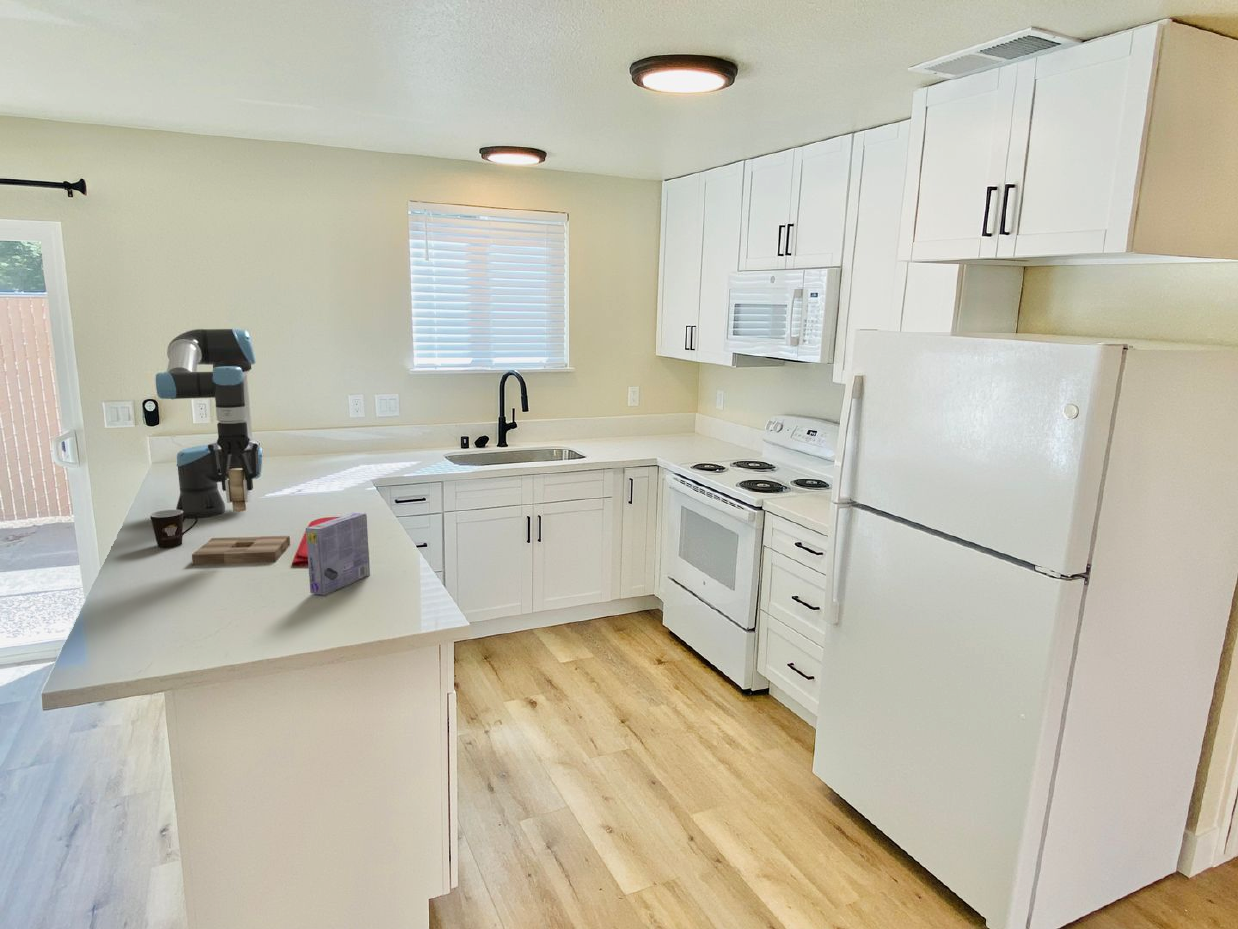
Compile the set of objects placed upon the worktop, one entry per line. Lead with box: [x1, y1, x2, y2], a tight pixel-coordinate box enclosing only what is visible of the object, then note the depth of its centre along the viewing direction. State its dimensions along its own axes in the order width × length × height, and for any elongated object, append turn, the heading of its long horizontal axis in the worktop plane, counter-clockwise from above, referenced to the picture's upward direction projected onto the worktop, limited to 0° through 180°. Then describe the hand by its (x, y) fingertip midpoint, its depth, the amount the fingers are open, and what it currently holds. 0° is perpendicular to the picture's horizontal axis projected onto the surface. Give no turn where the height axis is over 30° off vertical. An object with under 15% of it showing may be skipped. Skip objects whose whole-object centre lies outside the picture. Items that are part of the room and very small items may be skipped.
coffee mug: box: [149, 509, 198, 549], centre depth 227 cm, size 12×9×10 cm
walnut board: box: [191, 535, 291, 566], centre depth 220 cm, size 16×22×3 cm
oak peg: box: [228, 468, 247, 513], centre depth 216 cm, size 4×4×12 cm
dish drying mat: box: [291, 516, 341, 568], centre depth 231 cm, size 16×41×4 cm, turn 16°
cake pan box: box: [305, 512, 371, 597], centre depth 197 cm, size 19×5×18 cm, turn 159°
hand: (238, 501), depth 217 cm, fingers closed on oak peg, 4 cm apart
